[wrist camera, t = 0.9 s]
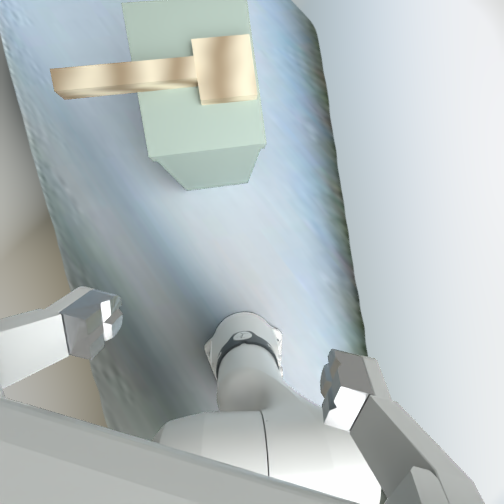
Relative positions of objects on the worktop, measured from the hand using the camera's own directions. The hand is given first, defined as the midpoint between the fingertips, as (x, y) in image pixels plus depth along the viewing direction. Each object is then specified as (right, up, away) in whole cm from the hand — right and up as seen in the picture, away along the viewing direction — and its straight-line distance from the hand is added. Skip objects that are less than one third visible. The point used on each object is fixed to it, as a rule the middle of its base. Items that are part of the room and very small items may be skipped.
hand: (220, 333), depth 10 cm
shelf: (-8, +27, +48) cm, 55 cm away
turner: (-10, +24, +22) cm, 34 cm away
